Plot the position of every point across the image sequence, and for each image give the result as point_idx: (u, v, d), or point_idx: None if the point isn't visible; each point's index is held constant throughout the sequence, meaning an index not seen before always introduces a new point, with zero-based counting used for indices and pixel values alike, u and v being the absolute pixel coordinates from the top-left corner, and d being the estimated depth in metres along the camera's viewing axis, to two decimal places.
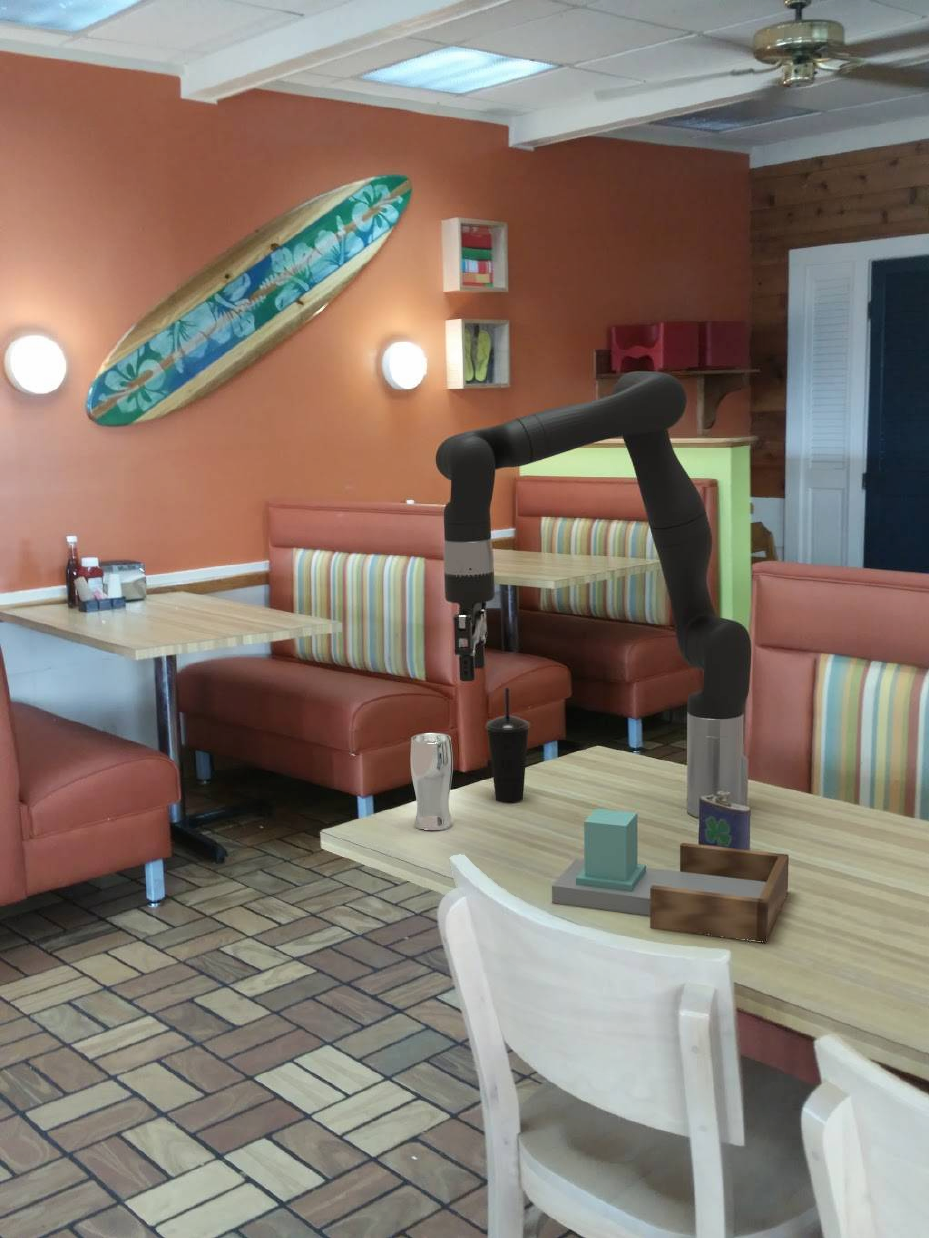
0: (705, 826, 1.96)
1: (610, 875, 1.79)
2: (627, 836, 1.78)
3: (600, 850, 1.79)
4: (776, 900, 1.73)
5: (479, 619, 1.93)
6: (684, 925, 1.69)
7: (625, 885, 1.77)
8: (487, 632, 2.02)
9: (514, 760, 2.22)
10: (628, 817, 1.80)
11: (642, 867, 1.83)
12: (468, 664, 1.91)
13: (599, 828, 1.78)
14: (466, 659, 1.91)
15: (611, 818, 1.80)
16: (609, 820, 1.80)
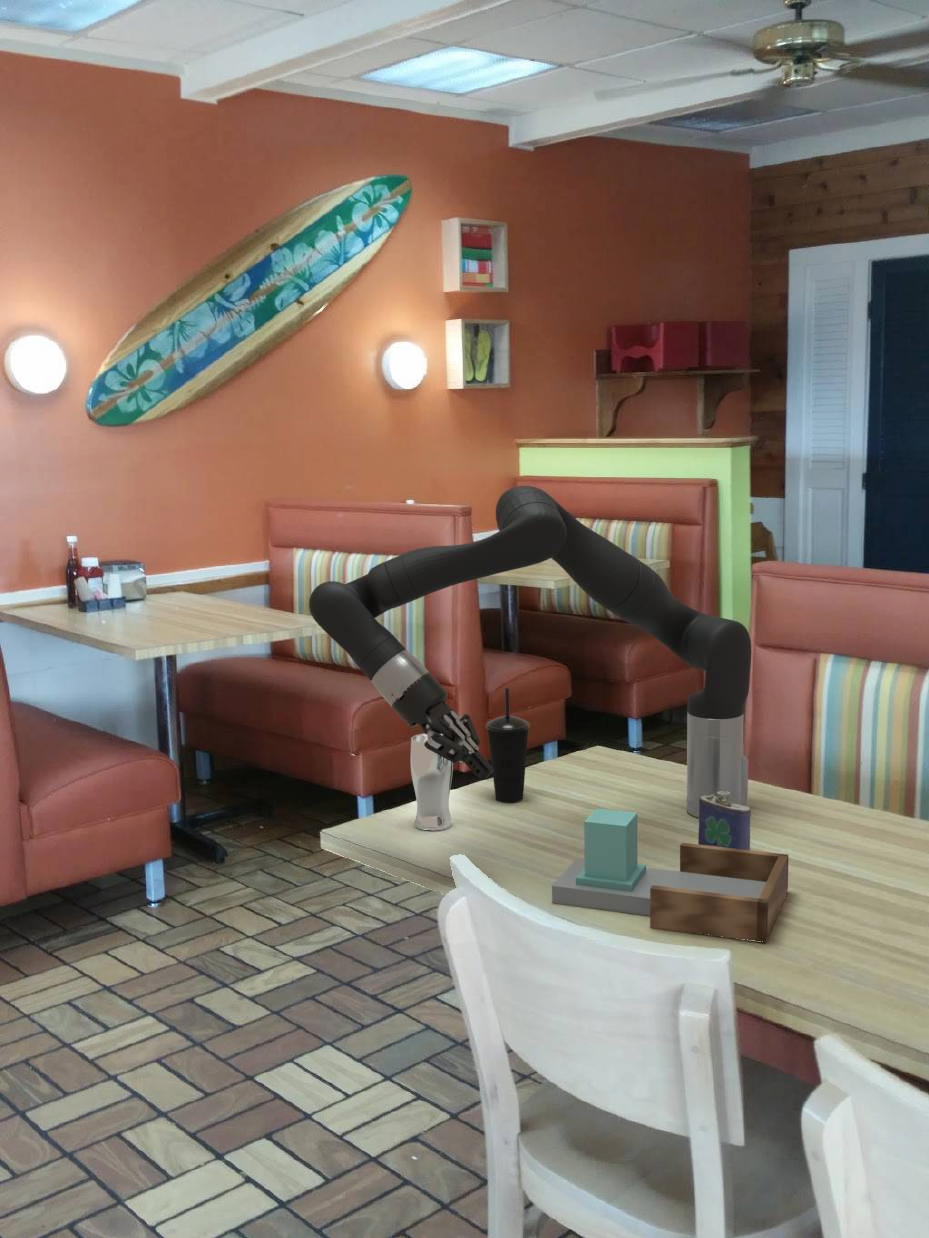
0: (705, 826, 1.96)
1: (610, 875, 1.79)
2: (627, 836, 1.78)
3: (600, 850, 1.79)
4: (776, 900, 1.73)
5: None
6: (684, 925, 1.69)
7: (625, 885, 1.77)
8: None
9: (514, 760, 2.22)
10: (628, 817, 1.80)
11: (642, 867, 1.83)
12: None
13: (599, 828, 1.78)
14: None
15: (611, 818, 1.80)
16: (609, 820, 1.80)
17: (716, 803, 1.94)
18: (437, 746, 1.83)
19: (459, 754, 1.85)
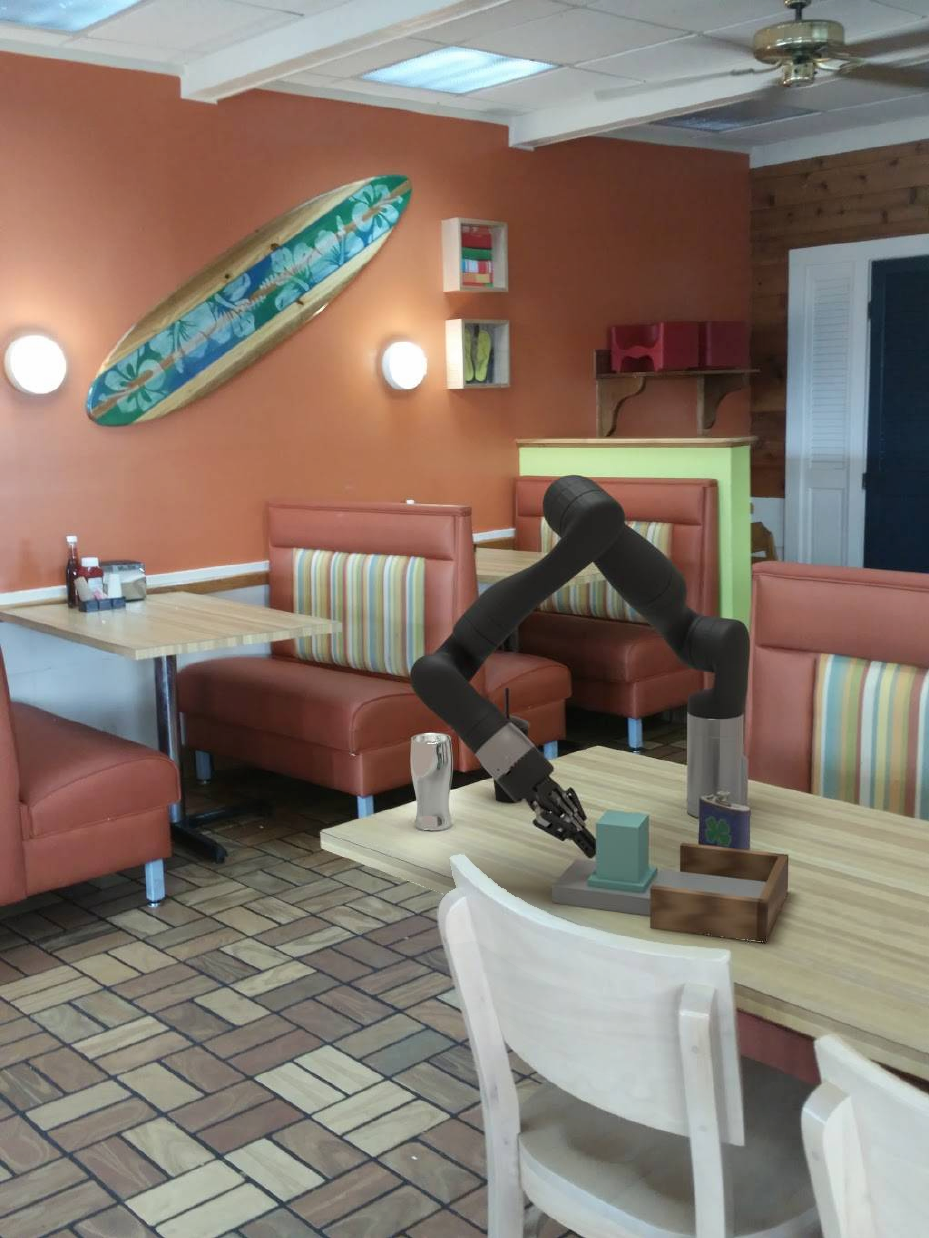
0: (705, 826, 1.96)
1: (622, 877, 1.78)
2: (639, 838, 1.77)
3: (612, 851, 1.78)
4: (776, 900, 1.73)
5: None
6: (684, 925, 1.69)
7: (637, 887, 1.77)
8: None
9: None
10: (640, 819, 1.80)
11: (653, 869, 1.83)
12: None
13: (611, 829, 1.78)
14: None
15: (623, 819, 1.79)
16: (620, 821, 1.79)
17: (716, 803, 1.94)
18: (546, 824, 1.78)
19: (568, 832, 1.79)
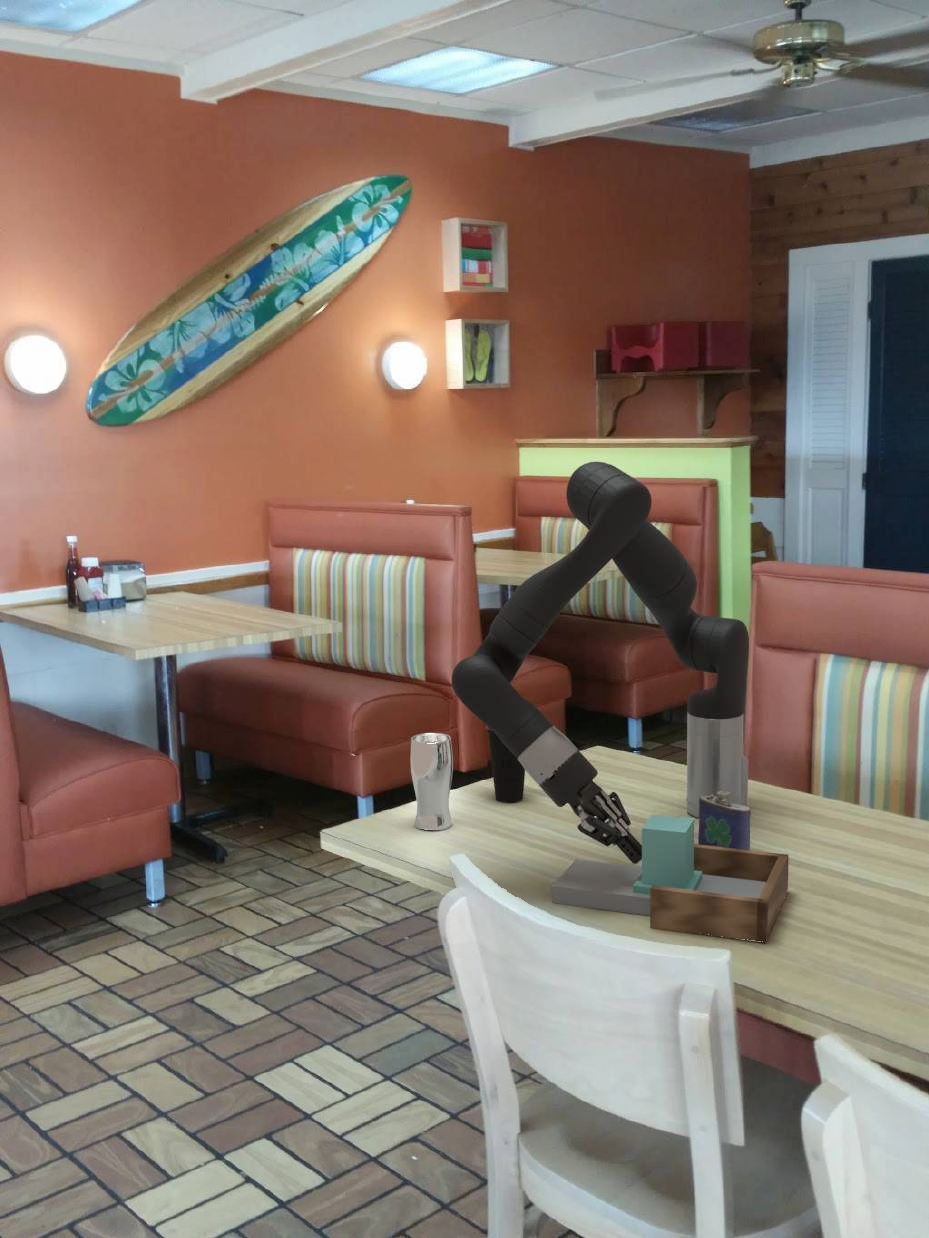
0: (705, 826, 1.96)
1: (668, 882, 1.76)
2: (686, 843, 1.75)
3: (658, 857, 1.76)
4: (776, 900, 1.73)
5: None
6: (684, 925, 1.69)
7: None
8: None
9: (514, 760, 2.22)
10: (686, 823, 1.77)
11: (699, 874, 1.80)
12: None
13: (657, 834, 1.75)
14: None
15: (669, 824, 1.77)
16: (667, 826, 1.76)
17: (716, 803, 1.94)
18: (591, 830, 1.75)
19: (613, 837, 1.77)
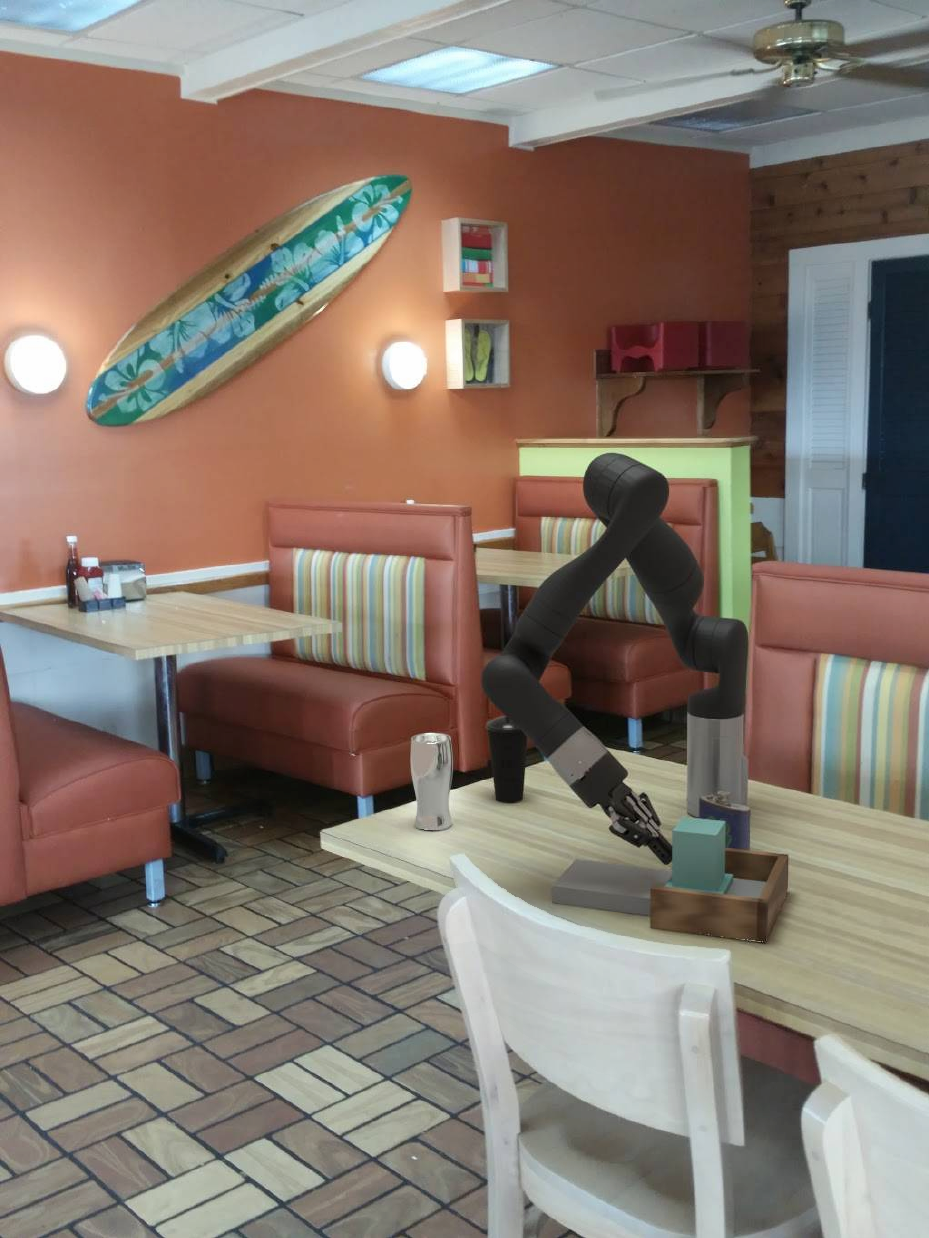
0: None
1: (699, 885, 1.75)
2: (717, 845, 1.74)
3: (689, 859, 1.75)
4: (776, 900, 1.73)
5: None
6: (684, 925, 1.69)
7: None
8: None
9: (514, 760, 2.22)
10: (717, 826, 1.76)
11: (730, 877, 1.79)
12: None
13: (688, 837, 1.74)
14: None
15: (700, 827, 1.76)
16: (697, 828, 1.75)
17: (716, 803, 1.94)
18: (623, 831, 1.74)
19: (644, 838, 1.76)
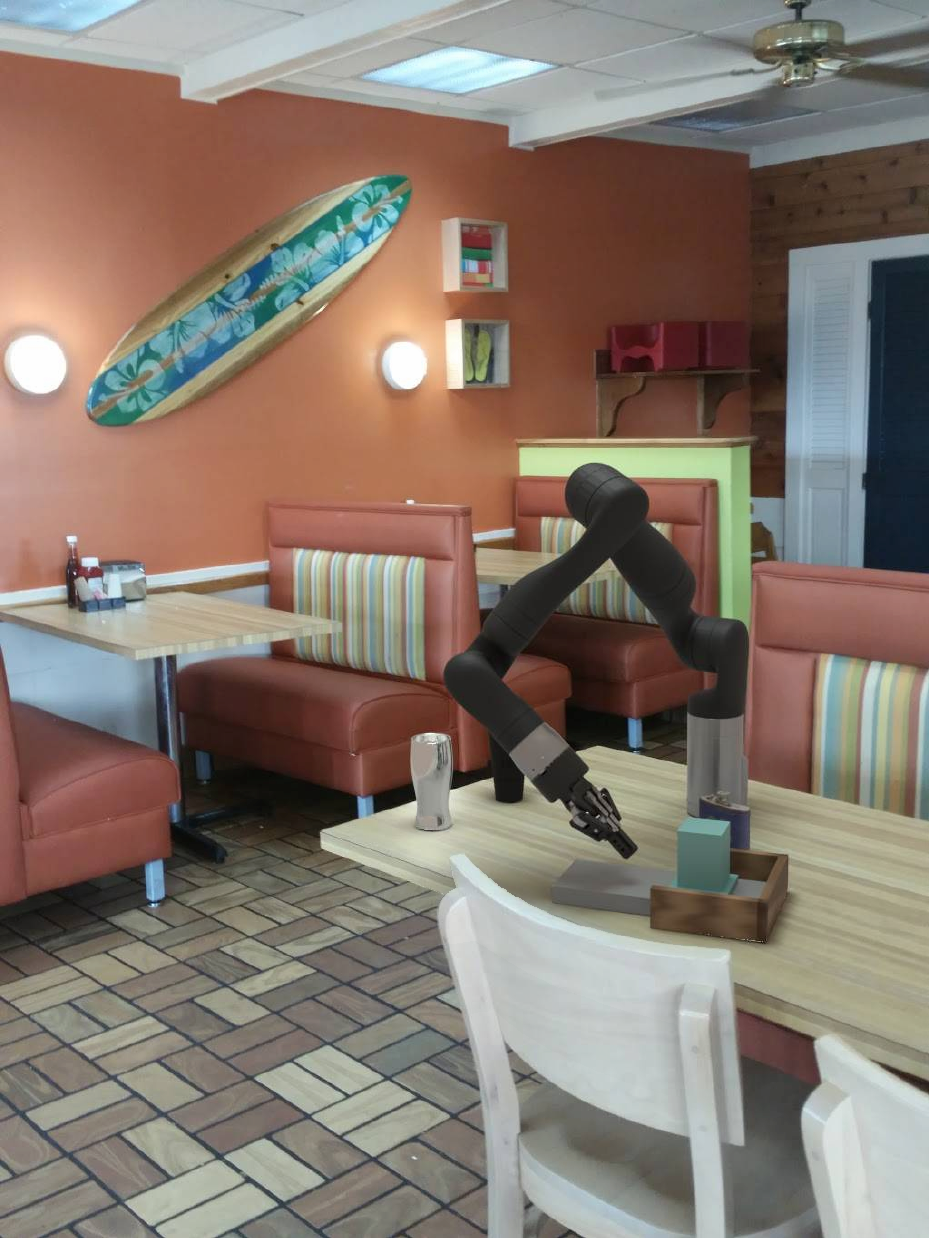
0: None
1: (704, 886, 1.74)
2: (722, 846, 1.73)
3: (694, 860, 1.74)
4: (776, 900, 1.73)
5: None
6: (684, 925, 1.69)
7: None
8: None
9: None
10: (722, 826, 1.76)
11: (735, 877, 1.79)
12: None
13: (693, 837, 1.74)
14: None
15: (705, 827, 1.76)
16: (702, 829, 1.75)
17: (716, 803, 1.94)
18: (583, 825, 1.76)
19: (604, 833, 1.77)
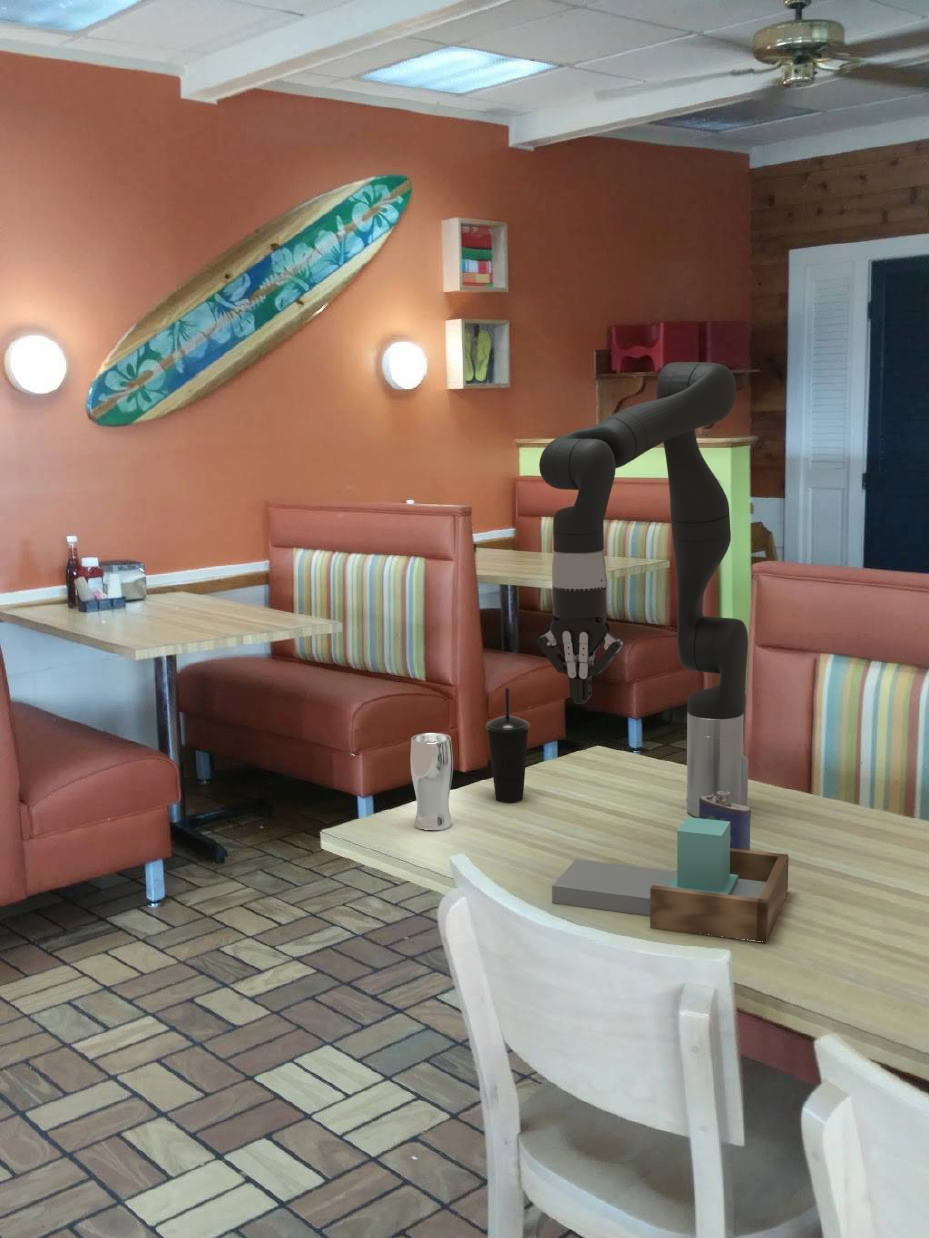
0: None
1: (704, 886, 1.74)
2: (722, 846, 1.73)
3: (694, 860, 1.74)
4: (776, 900, 1.73)
5: (563, 638, 1.81)
6: (684, 925, 1.69)
7: None
8: (595, 670, 1.80)
9: (514, 760, 2.22)
10: (722, 826, 1.76)
11: (735, 877, 1.79)
12: None
13: (693, 837, 1.74)
14: None
15: (705, 827, 1.76)
16: (702, 829, 1.75)
17: (716, 803, 1.94)
18: (616, 652, 1.80)
19: (602, 669, 1.81)
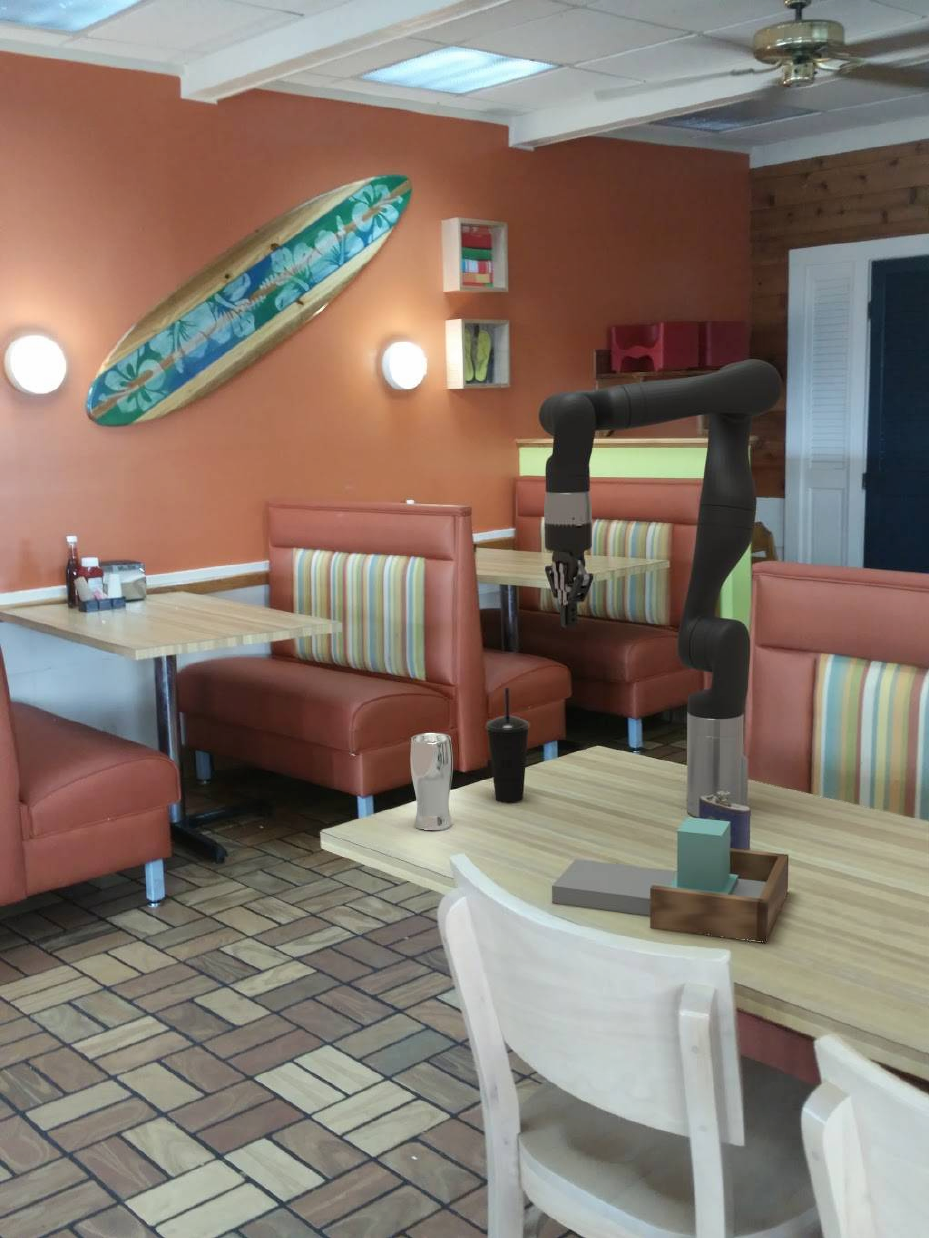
0: None
1: (704, 886, 1.74)
2: (722, 846, 1.73)
3: (694, 860, 1.74)
4: (776, 900, 1.73)
5: None
6: (684, 925, 1.69)
7: None
8: (569, 598, 2.04)
9: (514, 760, 2.22)
10: (722, 826, 1.76)
11: (735, 877, 1.79)
12: None
13: (693, 837, 1.74)
14: None
15: (705, 827, 1.76)
16: (702, 829, 1.75)
17: (716, 803, 1.94)
18: (583, 584, 2.01)
19: (580, 599, 2.04)
